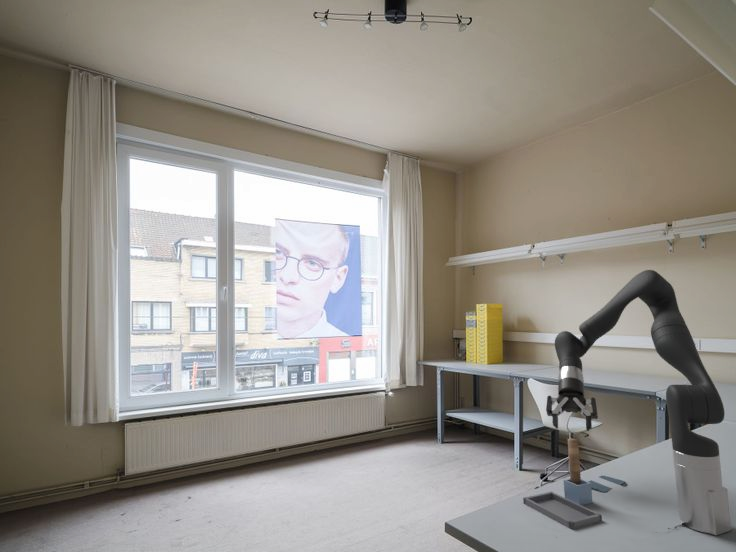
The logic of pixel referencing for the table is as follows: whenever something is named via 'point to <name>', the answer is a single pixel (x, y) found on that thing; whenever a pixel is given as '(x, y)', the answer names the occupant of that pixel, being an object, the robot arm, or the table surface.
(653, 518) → the table surface
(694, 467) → the robot arm
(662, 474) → the table surface
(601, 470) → the table surface
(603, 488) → the smartphone
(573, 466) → the dowel
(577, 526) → the tray
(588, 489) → the cup
